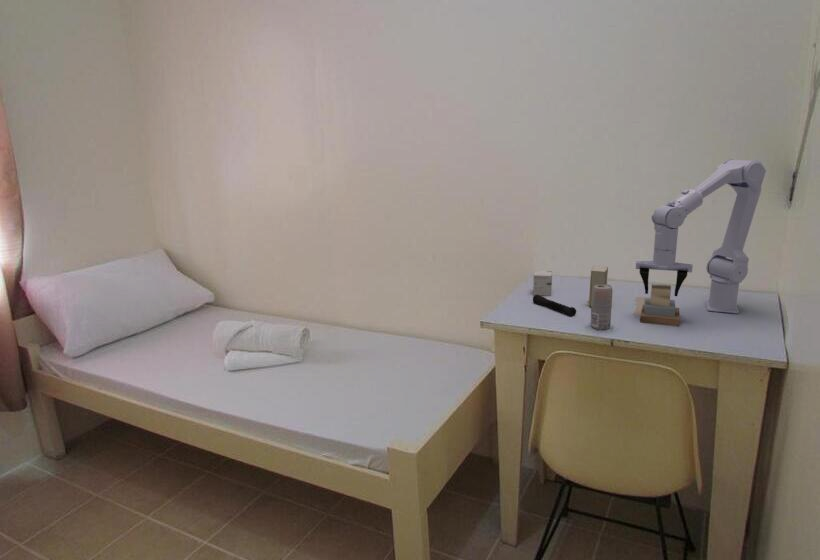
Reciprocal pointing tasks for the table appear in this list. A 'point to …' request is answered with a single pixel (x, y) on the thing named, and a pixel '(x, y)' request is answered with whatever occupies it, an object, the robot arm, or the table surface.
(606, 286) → the energy drink
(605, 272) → the skincare box
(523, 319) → the table surface
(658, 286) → the beech cube
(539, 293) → the skincare box
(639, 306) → the grooming comb
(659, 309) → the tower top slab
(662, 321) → the tower base slab
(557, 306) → the flashlight
